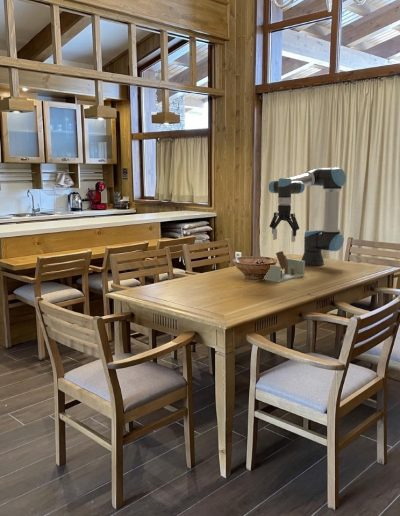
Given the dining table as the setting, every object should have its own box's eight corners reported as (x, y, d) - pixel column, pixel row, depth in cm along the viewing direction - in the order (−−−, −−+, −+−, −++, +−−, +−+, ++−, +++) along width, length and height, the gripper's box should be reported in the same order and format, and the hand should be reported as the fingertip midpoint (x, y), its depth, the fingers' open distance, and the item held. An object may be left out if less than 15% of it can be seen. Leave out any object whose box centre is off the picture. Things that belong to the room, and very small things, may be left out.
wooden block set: (282, 269, 304) (277, 253, 305) (295, 264, 300) (289, 249, 300) (270, 273, 289) (264, 256, 290) (283, 268, 284) (277, 252, 285)
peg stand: (287, 272, 308) (287, 258, 306) (304, 275, 298) (304, 260, 297) (261, 278, 291) (261, 263, 290) (278, 282, 282) (278, 266, 280)
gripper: (263, 204, 294) (263, 239, 297) (298, 205, 276) (297, 243, 279) (271, 203, 299) (271, 238, 302) (305, 205, 281) (305, 241, 284)
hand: (283, 240), depth 291 cm, fingers open, 13 cm apart
